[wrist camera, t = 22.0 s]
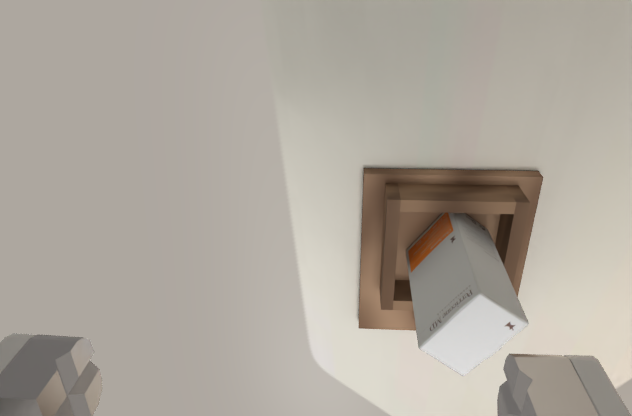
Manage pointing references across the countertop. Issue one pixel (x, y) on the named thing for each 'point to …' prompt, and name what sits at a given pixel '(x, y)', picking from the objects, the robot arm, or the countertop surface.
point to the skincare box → (461, 293)
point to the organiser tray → (420, 213)
